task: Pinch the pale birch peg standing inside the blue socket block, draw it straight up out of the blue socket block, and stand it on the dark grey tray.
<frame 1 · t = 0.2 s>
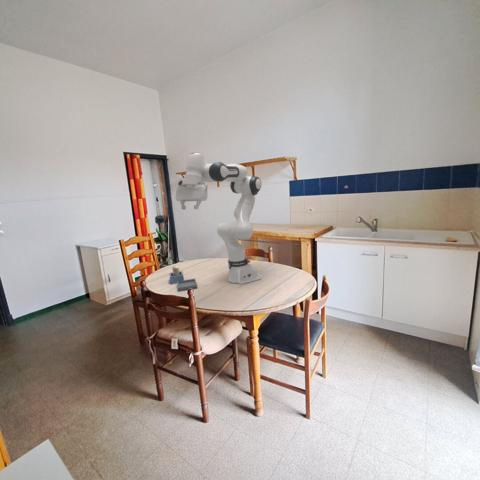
hand: (189, 209, 135), 52 cm above the table, tool tilted 20°, fingers open, 8 cm apart
tray: (187, 286, 169), on the table
blue socket block: (177, 280, 181), on the table
peg: (176, 274, 180), in the blue socket block
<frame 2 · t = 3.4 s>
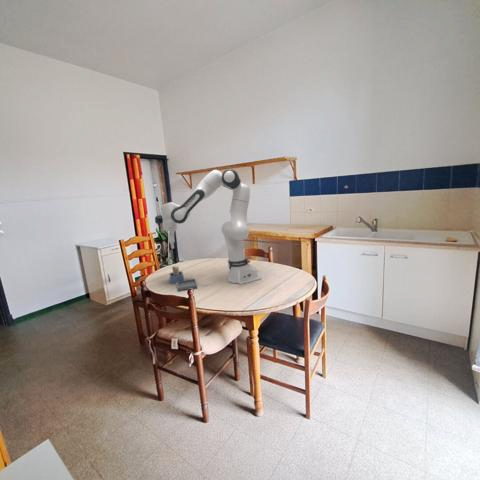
hand: (172, 246, 176), 24 cm above the table, tool pointing down, fingers open, 8 cm apart
nothing on the table moved.
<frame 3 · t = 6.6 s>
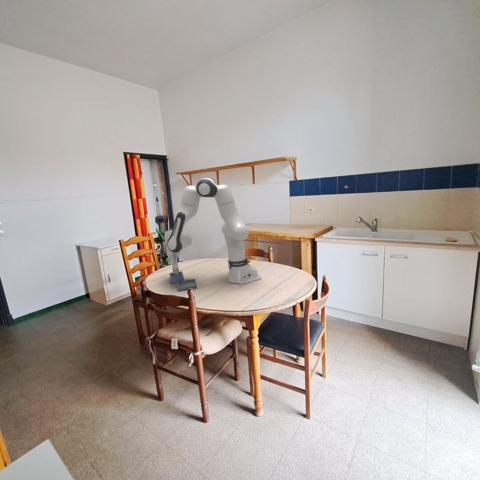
hand: (176, 271, 180), 7 cm above the table, tool pointing down, fingers closed on peg, 4 cm apart
peg: (176, 274, 180), in the blue socket block, touching gripper
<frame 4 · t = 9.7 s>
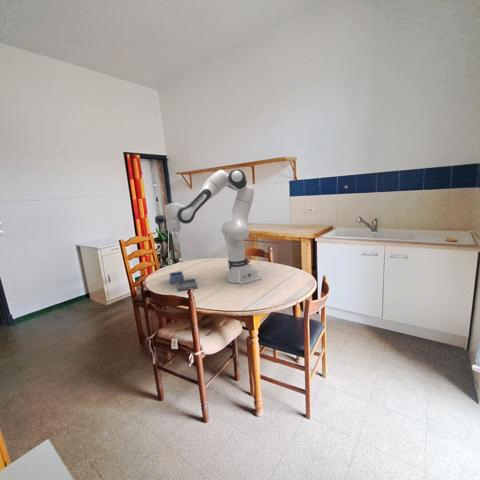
hand: (177, 248, 171), 24 cm above the table, tool pointing down, fingers closed on peg, 4 cm apart
peg: (177, 250, 172), point 23 cm above the table, touching gripper
when the fingers open (9 cm above the table, at t = 13.2 s): peg stays where it is, resting on tray.
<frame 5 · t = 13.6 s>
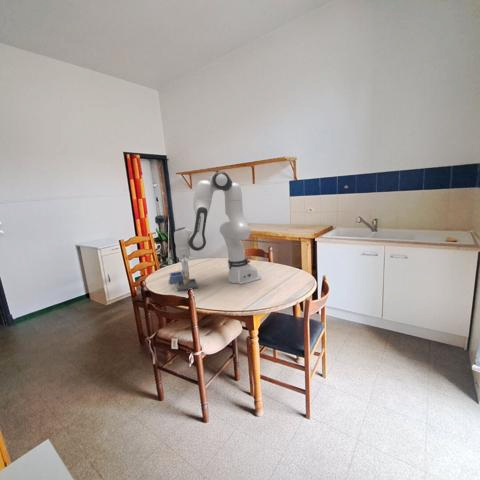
hand: (185, 274, 168), 9 cm above the table, tool pointing down, fingers open, 8 cm apart
peg: (186, 277, 168), in the tray, point 6 cm above the table
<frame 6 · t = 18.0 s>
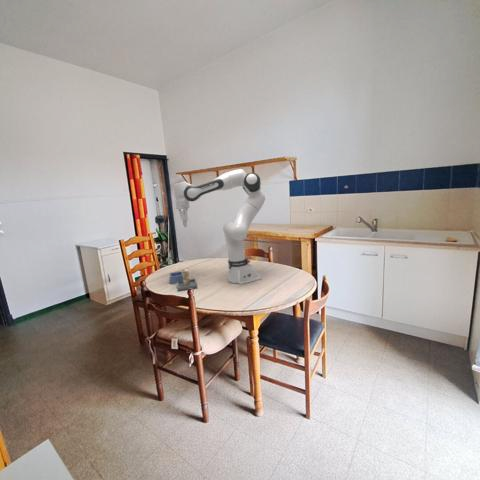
hand: (185, 225, 180), 37 cm above the table, tool pointing down, fingers open, 8 cm apart
nothing on the table moved.
at the end: peg inside the target area on the tray (0.1 cm from its centre), point 6.0 cm above the tray's base; peg tilted 0°; the gripper is holding nothing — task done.
